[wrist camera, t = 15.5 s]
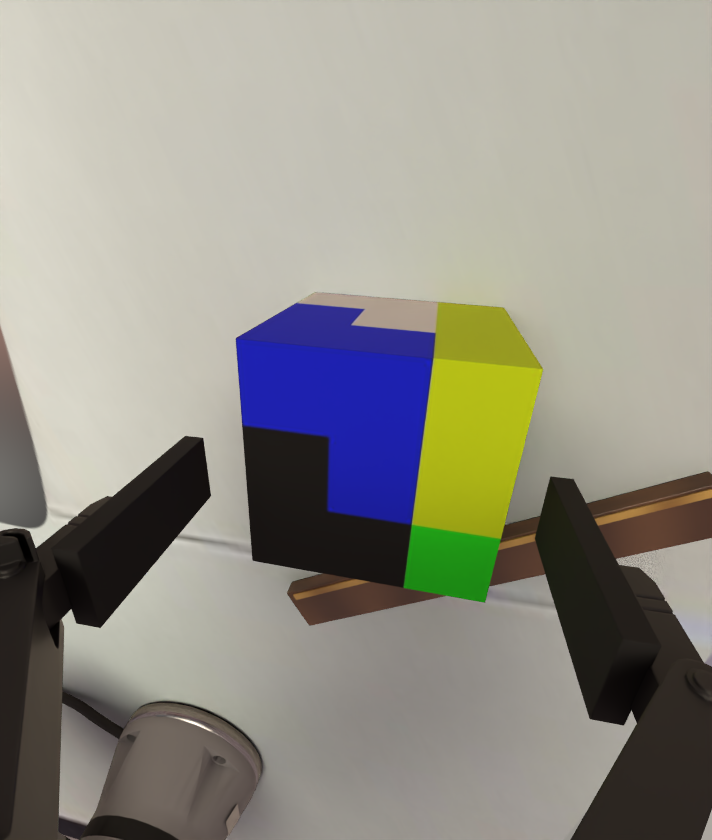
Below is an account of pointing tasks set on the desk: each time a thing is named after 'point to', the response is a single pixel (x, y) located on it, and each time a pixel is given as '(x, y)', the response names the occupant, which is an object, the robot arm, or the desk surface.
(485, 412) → the puzzle toy
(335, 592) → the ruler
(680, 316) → the desk surface
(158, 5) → the desk surface
